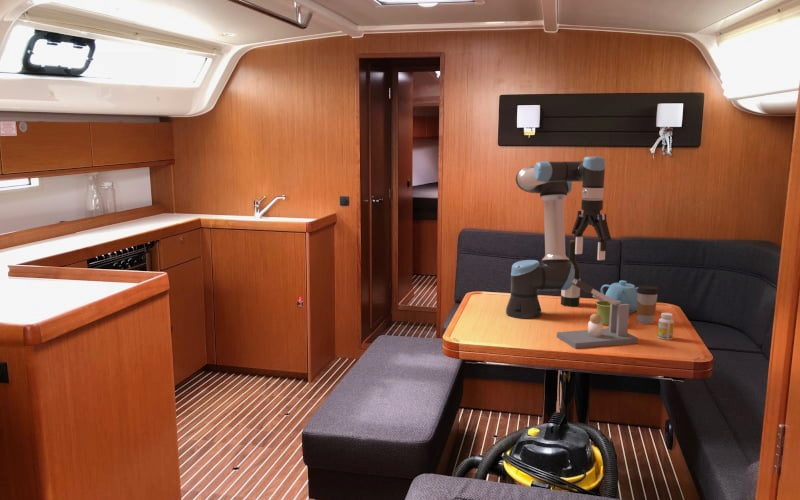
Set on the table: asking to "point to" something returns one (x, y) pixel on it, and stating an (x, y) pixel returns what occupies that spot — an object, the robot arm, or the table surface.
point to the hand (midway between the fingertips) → (589, 256)
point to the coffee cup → (646, 303)
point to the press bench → (602, 330)
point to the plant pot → (604, 311)
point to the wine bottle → (573, 293)
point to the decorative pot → (623, 294)
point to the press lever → (593, 292)
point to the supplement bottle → (666, 326)
